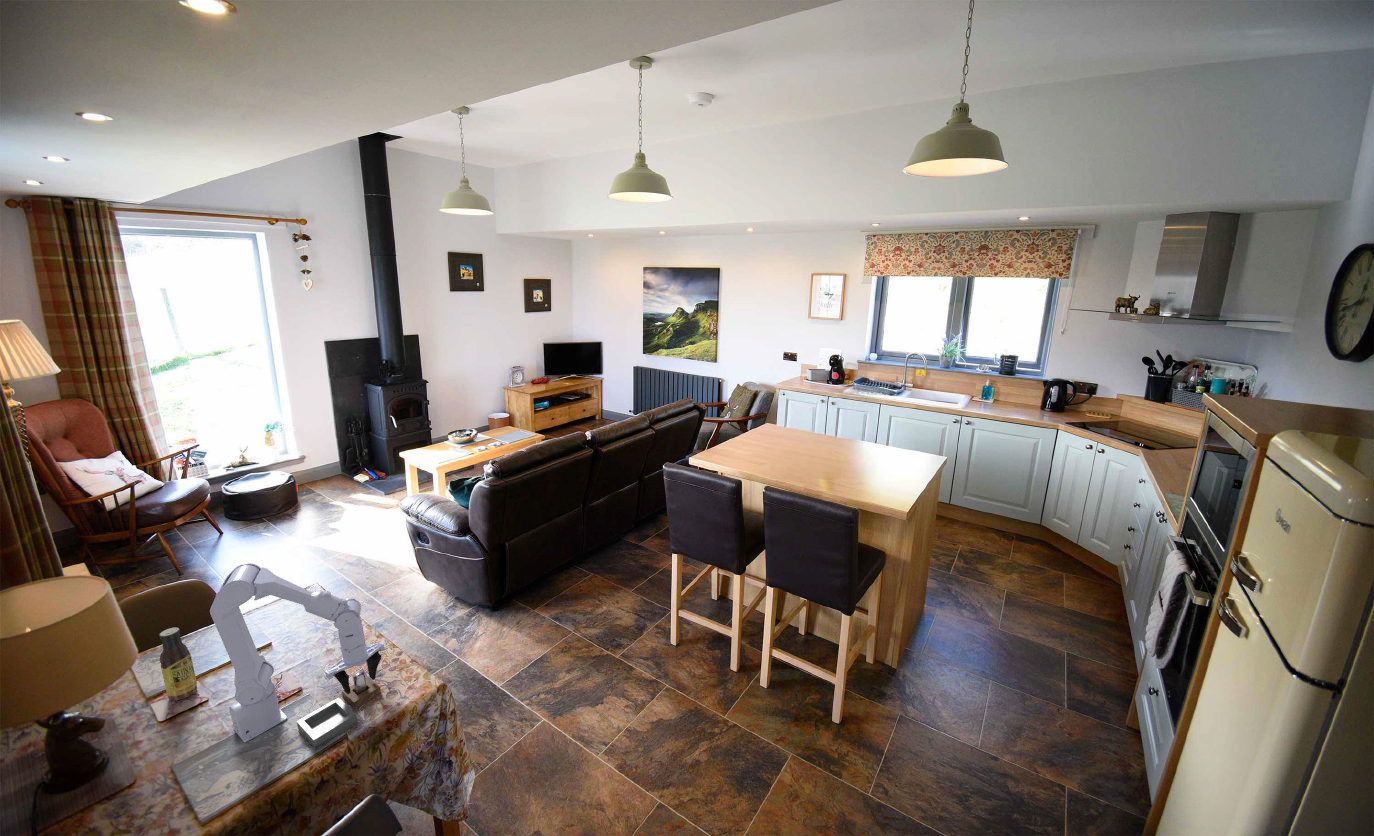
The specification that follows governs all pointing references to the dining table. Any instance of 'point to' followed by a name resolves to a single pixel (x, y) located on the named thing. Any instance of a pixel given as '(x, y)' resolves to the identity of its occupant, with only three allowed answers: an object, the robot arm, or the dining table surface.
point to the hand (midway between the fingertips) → (360, 684)
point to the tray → (327, 723)
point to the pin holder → (363, 697)
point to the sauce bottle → (176, 666)
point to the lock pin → (359, 682)
